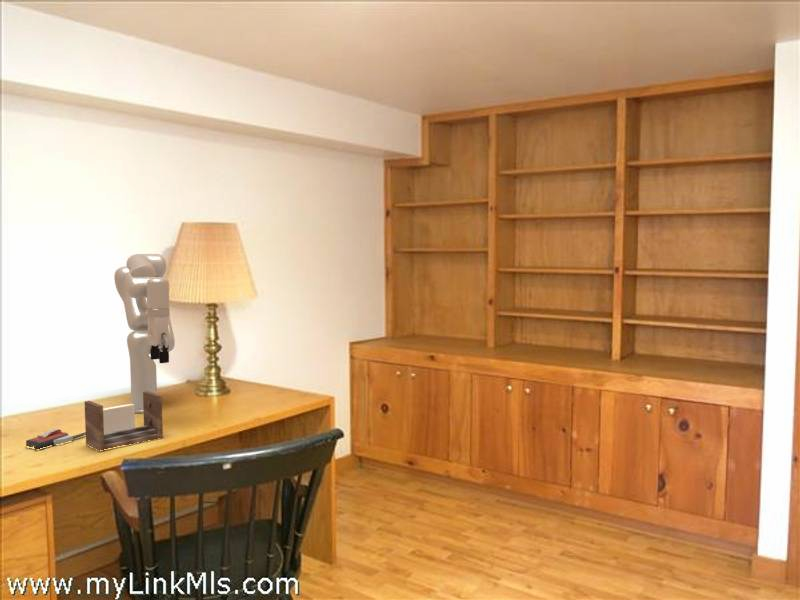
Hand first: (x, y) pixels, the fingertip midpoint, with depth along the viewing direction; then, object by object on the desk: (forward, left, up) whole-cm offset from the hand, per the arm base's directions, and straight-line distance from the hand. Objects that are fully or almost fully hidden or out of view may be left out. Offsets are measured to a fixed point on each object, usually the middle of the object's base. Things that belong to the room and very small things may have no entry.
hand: (159, 361), depth 237 cm
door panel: (-3, -16, -24) cm, 29 cm away
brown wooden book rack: (+10, -18, -24) cm, 31 cm away
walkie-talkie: (-6, -33, -24) cm, 41 cm away
